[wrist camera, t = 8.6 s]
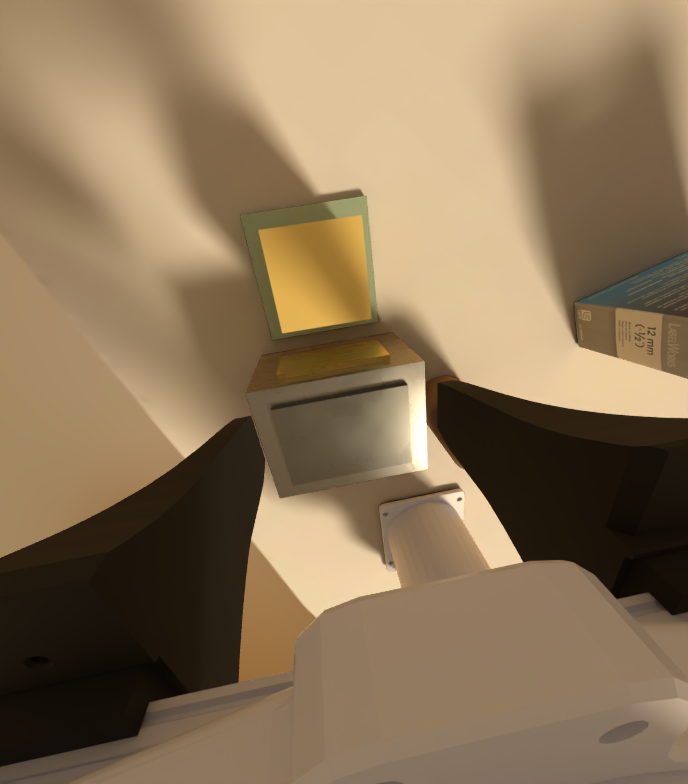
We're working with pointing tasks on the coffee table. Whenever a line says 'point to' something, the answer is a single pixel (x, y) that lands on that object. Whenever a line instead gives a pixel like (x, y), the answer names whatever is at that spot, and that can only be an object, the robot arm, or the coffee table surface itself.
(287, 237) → the ochre block
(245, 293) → the coffee table surface
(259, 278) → the pad
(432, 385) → the walnut cylinder
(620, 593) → the robot arm
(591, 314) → the label tape box
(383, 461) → the box
